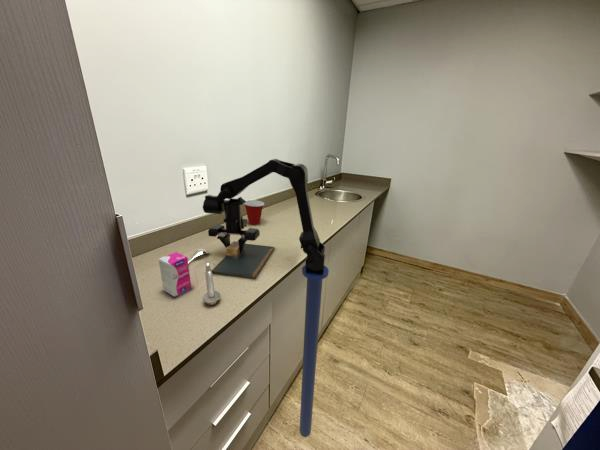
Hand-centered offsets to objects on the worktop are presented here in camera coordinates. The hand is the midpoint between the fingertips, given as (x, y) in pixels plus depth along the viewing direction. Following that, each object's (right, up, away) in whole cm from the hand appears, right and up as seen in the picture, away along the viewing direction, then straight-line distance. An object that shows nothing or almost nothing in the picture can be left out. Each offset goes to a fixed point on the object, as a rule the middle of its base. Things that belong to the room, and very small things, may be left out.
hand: (235, 252), depth 96 cm
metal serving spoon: (-16, -4, -6) cm, 18 cm away
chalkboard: (+5, -3, -1) cm, 6 cm away
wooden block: (0, -1, 0) cm, 1 cm away
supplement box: (-12, -10, -21) cm, 26 cm away
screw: (0, -12, -25) cm, 28 cm away
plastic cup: (+1, +12, +37) cm, 39 cm away
